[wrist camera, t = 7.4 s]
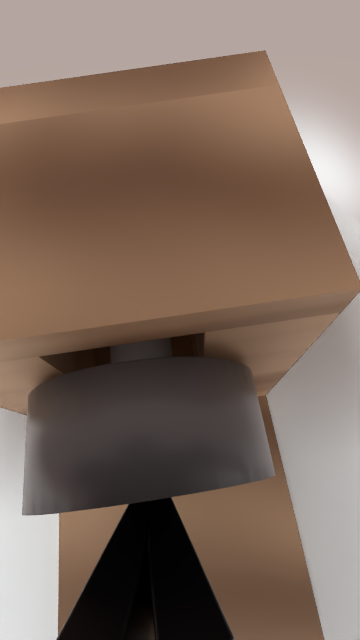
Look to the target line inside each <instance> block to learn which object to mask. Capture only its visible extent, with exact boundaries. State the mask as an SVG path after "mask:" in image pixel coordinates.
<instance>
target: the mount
mask: <svg viewBox="0 0 360 640" xmlns="http://www.w3.org/2000/svg"><path fill="white" fill-rule="evenodd" d="M359 292H360V281H359V278H358V276H357V273H356V271H355V268H354V266H353V264H352V261H351V259H350V256H349V254H348V251H347V249H346V246H345V244H344V242H343V239H342V237H341V234H340V232H339V229H338V227H337V224H336V222H335V220H334V217H333V215H332V212H331V210H330V207H329V205H328V202H327V200H326V198H325V195H324V193H323V190H322V188H321V186H320V184H319V181H318V178H317V176H316V173H315V171H314V168H313V166H312V164H311V161H310V159H309V156H308V154H307V151H306V149H305V146H304V144H303V141H302V139H301V137H300V134H299V132H298V130H297V127H296V124H295V122H294V120H293V117H292V115H291V112H290V110H289V107H288V105H287V102H286V100H285V98H284V95H283V93H282V90H281V88H280V86H279V83H278V80H277V78H276V76H275V73H274V71H273V68H272V66H271V63H270V61H269V59H268V56H267V54H266V51H258V52H251V53H245V54H237V55H230V56H223V57H216V58H209V59H202V60H194V61H187V62H181V63H173V64H166V65H159V66H152V67H145V68H138V69H131V70H124V71H117V72H110V73H102V74H95V75H89V76H82V77H74V78H67V79H60V80H53V81H46V82H39V83H32V84H25V85H18V86H10V87H3V88H0V407H1V408H5V409H8V410H11V411H14V412H18V413H21V414H24V415H27V406H28V395H29V394H30V392H31V391H32V390H33V389H34V388H36V387H37V386H39V385H41V384H42V383H44V382H46V381H49V380H51V379H53V378H56V377H59V376H62V375H65V374H68V373H71V372H75V371H78V370H82V369H86V368H91V367H95V366H100V365H105V364H111V357H110V346H115V345H122V344H128V343H135V342H142V341H149V340H156V339H163V338H169V337H170V338H171V345H172V353H173V357H212V358H221V359H227V360H232V361H236V362H239V363H242V364H244V365H246V366H248V367H249V368H250V369H251V370H252V374H253V378H254V383H255V387H256V392H257V396H258V400H259V405H260V409H261V413H262V418H263V422H264V427H265V431H266V435H267V440H268V444H269V448H270V453H271V457H272V462H273V466H274V470H275V475H276V476H274V477H271V478H268V479H264V480H260V481H256V482H251V483H247V484H242V485H237V486H232V487H227V488H222V489H216V490H211V491H205V492H200V493H194V494H188V495H182V496H176V497H171V498H172V500H173V502H174V504H175V507H176V509H177V511H178V513H179V516H180V518H181V520H182V522H183V524H184V527H185V529H186V531H187V533H188V536H189V538H190V540H191V542H192V544H193V547H194V549H195V551H196V553H197V556H198V558H199V560H200V562H201V564H202V567H203V569H204V571H205V573H206V575H207V578H208V580H209V582H210V584H211V587H212V589H213V591H214V593H215V595H216V598H217V600H218V602H219V604H220V607H221V609H222V611H223V613H224V615H225V618H226V620H227V622H228V624H229V627H230V629H231V631H232V633H233V635H234V639H235V640H324V637H323V633H322V628H321V624H320V620H319V616H318V612H317V607H316V603H315V599H314V595H313V591H312V586H311V582H310V578H309V574H308V570H307V566H306V561H305V557H304V553H303V549H302V545H301V540H300V536H299V532H298V528H297V524H296V520H295V515H294V511H293V507H292V503H291V499H290V494H289V490H288V486H287V482H286V478H285V473H284V469H283V465H282V461H281V457H280V453H279V448H278V444H277V440H276V436H275V432H274V427H273V423H272V419H271V415H270V411H269V407H268V402H267V398H266V395H267V393H268V392H269V391H270V390H271V389H272V388H273V387H274V386H275V385H276V384H277V382H278V381H279V380H280V379H281V378H282V377H283V376H284V375H285V374H286V373H287V371H288V370H289V369H290V368H291V367H292V366H293V365H294V364H295V363H296V361H297V360H298V359H299V358H300V357H301V356H302V355H303V354H304V353H305V352H306V350H307V349H308V348H309V347H310V346H311V345H312V344H313V343H314V342H315V341H316V339H317V338H318V337H319V336H320V335H321V334H322V333H323V332H324V331H325V330H326V328H327V327H328V326H329V325H330V324H331V323H332V322H333V321H334V320H335V318H336V317H337V316H338V315H339V314H340V313H341V312H342V311H343V310H344V309H345V307H346V306H347V305H348V304H349V303H350V302H351V301H352V300H353V299H354V298H355V296H356V295H357V294H358V293H359ZM127 506H128V504H125V505H118V506H111V507H104V508H96V509H89V510H81V511H72V512H64V513H59V605H58V635H59V633H60V632H61V630H62V628H63V626H64V624H65V622H66V620H67V618H68V617H69V615H70V613H71V611H72V609H73V607H74V605H75V604H76V602H77V600H78V598H79V596H80V594H81V592H82V590H83V589H84V587H85V585H86V583H87V581H88V579H89V577H90V575H91V574H92V572H93V570H94V568H95V566H96V564H97V562H98V560H99V559H100V557H101V555H102V553H103V551H104V549H105V547H106V545H107V544H108V542H109V540H110V538H111V536H112V534H113V532H114V530H115V529H116V527H117V525H118V523H119V521H120V519H121V517H122V515H123V514H124V512H125V510H126V508H127Z"/></svg>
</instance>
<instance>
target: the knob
mask: <svg viewBox="0 0 360 640" xmlns="http://www.w3.org/2000/svg"><path fill="white" fill-rule="evenodd" d="M110 357H111V364H105V365H100V366H95V367H91V368H86V369H82V370H78V371H75V372H71V373H68V374H65V375H62V376H59V377H56V378H53V379H51V380H49V381H46V382H44V383H42V384H41V385H39V386H37V387H36V388H34V389H33V390H32V391H31V392H30V394H29V395H28V406H27V426H26V446H25V467H24V487H23V507H22V515H43V514H54V513H64V512H72V511H81V510H89V509H96V508H104V507H111V506H118V505H125V504H132V503H138V502H145V501H151V500H158V499H164V498H170V497H176V496H182V495H188V494H194V493H200V492H205V491H211V490H216V489H222V488H227V487H232V486H237V485H242V484H247V483H251V482H256V481H260V480H264V479H268V478H271V477H274V476H276V475H275V470H274V466H273V462H272V457H271V453H270V448H269V444H268V440H267V435H266V431H265V427H264V422H263V418H262V413H261V409H260V405H259V400H258V396H257V392H256V387H255V383H254V378H253V374H252V370H251V369H250V368H249V367H248V366H246V365H244V364H242V363H239V362H236V361H232V360H227V359H221V358H212V357H173V353H172V345H171V338H170V337H169V338H163V339H156V340H149V341H142V342H135V343H128V344H122V345H115V346H110Z"/></svg>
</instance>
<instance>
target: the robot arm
mask: <svg viewBox="0 0 360 640" xmlns="http://www.w3.org/2000/svg"><path fill="white" fill-rule="evenodd" d="M56 640H235V639H234V635H233V633H232V631H231V629H230V627H229V624H228V622H227V620H226V618H225V615H224V613H223V611H222V609H221V607H220V604H219V602H218V600H217V598H216V595H215V593H214V591H213V589H212V587H211V584H210V582H209V580H208V578H207V575H206V573H205V571H204V569H203V567H202V564H201V562H200V560H199V558H198V556H197V553H196V551H195V549H194V547H193V544H192V542H191V540H190V538H189V536H188V533H187V531H186V529H185V527H184V524H183V522H182V520H181V518H180V516H179V513H178V511H177V509H176V507H175V504H174V502H173V500H172V498H171V497H170V498H164V499H158V500H151V501H145V502H138V503H132V504H128V506H127V508H126V510H125V512H124V514H123V515H122V517H121V519H120V521H119V523H118V525H117V527H116V529H115V530H114V532H113V534H112V536H111V538H110V540H109V542H108V544H107V545H106V547H105V549H104V551H103V553H102V555H101V557H100V559H99V560H98V562H97V564H96V566H95V568H94V570H93V572H92V574H91V575H90V577H89V579H88V581H87V583H86V585H85V587H84V589H83V590H82V592H81V594H80V596H79V598H78V600H77V602H76V604H75V605H74V607H73V609H72V611H71V613H70V615H69V617H68V618H67V620H66V622H65V624H64V626H63V628H62V630H61V632H60V633H59V635H58V637H57V639H56Z"/></svg>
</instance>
